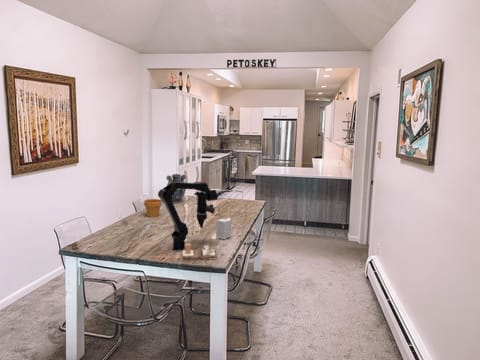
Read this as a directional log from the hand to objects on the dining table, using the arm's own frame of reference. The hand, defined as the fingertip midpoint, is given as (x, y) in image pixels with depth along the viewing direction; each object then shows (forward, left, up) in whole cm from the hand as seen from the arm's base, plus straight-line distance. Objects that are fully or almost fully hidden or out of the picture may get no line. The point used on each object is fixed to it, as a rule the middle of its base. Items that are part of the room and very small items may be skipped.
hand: (201, 225), depth 225 cm
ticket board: (-1, -21, -12) cm, 25 cm away
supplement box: (+16, +13, -12) cm, 24 cm away
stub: (-9, -21, -11) cm, 25 cm away
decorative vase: (-18, +133, -12) cm, 134 cm away
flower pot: (-36, +77, -12) cm, 86 cm away
